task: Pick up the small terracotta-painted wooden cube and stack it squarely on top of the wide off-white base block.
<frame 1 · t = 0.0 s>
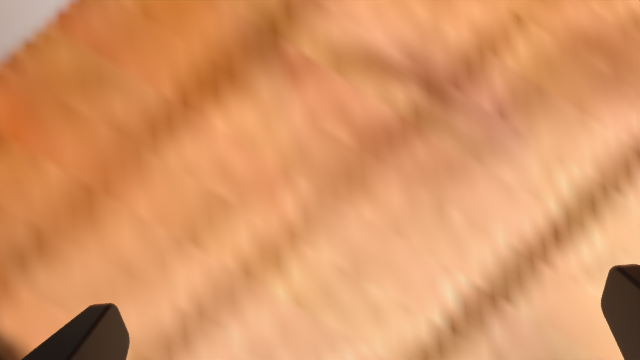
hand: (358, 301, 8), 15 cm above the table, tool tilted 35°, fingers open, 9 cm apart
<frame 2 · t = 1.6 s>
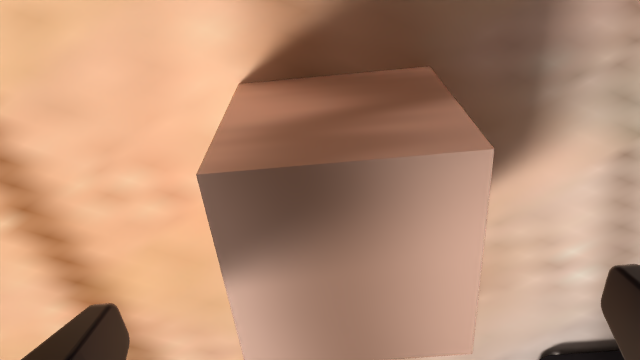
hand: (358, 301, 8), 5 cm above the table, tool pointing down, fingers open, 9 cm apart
terracotta cube: (340, 158, 13), on the table
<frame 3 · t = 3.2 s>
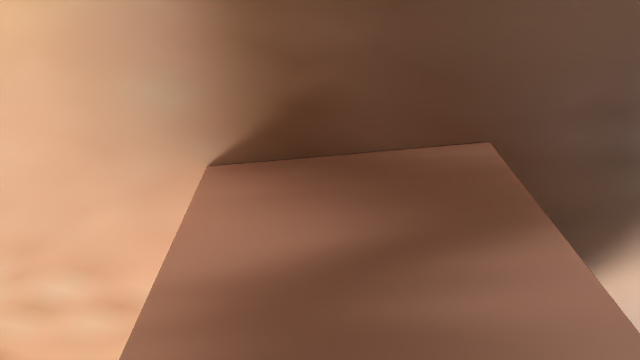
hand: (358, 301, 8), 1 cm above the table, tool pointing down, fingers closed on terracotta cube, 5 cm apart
terracotta cube: (354, 264, 9), on the table, touching gripper
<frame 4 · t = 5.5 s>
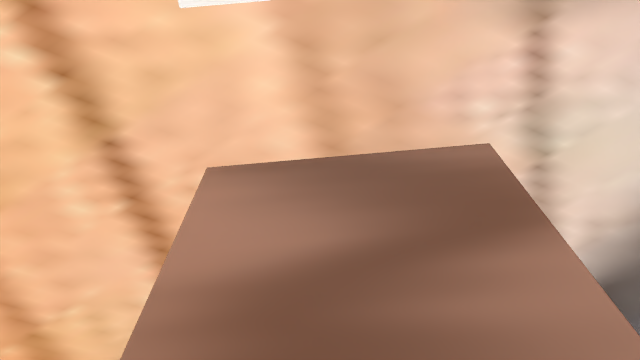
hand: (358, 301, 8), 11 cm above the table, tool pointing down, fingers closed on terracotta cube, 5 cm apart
terracotta cube: (354, 265, 9), point 10 cm above the table, touching gripper
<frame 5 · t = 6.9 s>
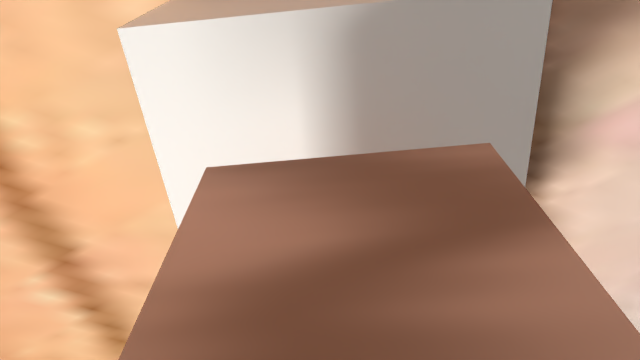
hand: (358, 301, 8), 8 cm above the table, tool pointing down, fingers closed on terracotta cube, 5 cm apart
terracotta cube: (354, 265, 9), point 7 cm above the table, touching gripper
base block: (339, 130, 15), on the table
when the fingers open (6 cm above the table, at t = 8.0 s): terracotta cube drops 1 cm, resting on base block.
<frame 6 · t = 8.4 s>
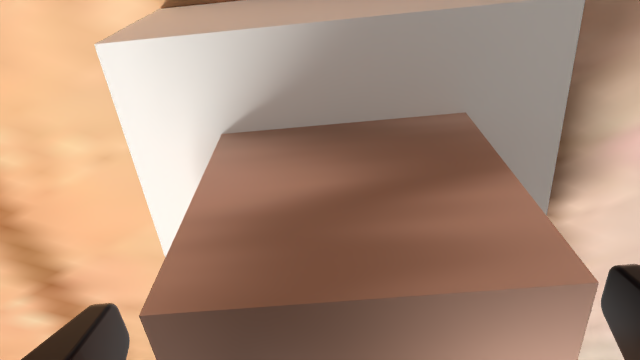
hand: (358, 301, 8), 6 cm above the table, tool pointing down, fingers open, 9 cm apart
terracotta cube: (349, 223, 11), point 4 cm above the table, touching base block
base block: (341, 147, 14), on the table
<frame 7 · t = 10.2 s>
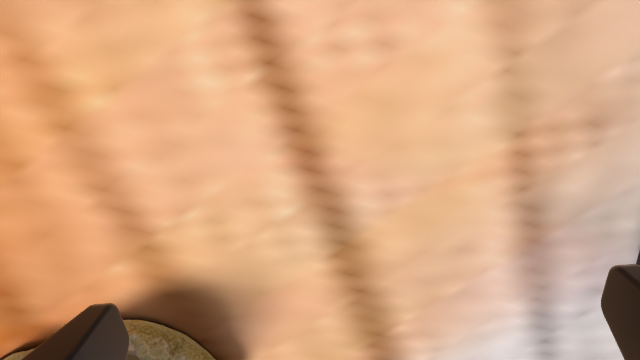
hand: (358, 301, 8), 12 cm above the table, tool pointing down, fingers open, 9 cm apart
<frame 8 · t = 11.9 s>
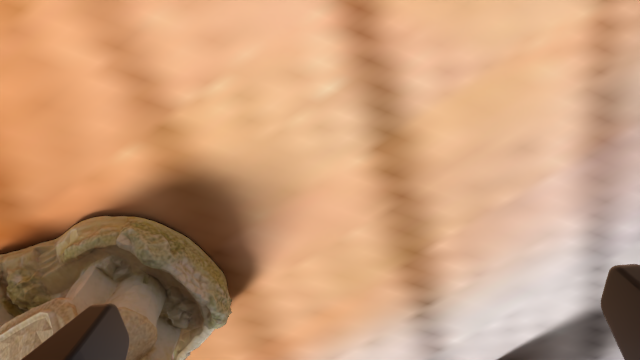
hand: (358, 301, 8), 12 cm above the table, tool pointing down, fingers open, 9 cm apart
ceramic model: (103, 297, 25), on the table
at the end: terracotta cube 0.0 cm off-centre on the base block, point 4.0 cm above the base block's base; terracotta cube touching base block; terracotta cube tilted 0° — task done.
